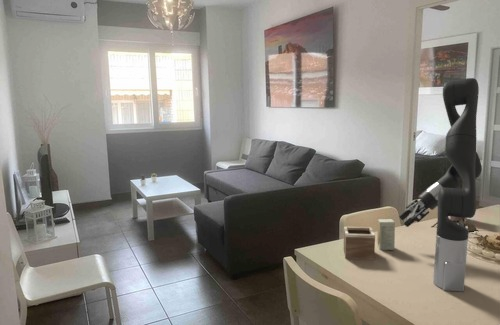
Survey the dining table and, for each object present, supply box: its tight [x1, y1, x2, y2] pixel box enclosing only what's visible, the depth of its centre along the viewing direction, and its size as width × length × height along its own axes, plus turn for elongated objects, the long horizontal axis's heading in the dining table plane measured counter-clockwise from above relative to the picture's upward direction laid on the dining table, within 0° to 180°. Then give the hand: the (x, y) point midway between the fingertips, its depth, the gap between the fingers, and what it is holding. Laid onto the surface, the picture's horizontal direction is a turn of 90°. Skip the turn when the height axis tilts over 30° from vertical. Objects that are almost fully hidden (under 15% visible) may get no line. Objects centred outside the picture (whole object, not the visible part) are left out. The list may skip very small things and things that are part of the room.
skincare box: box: [376, 218, 396, 251], centre depth 155 cm, size 6×4×12 cm
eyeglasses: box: [431, 219, 479, 234], centre depth 174 cm, size 15×15×5 cm
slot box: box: [343, 225, 376, 261], centre depth 149 cm, size 10×11×10 cm
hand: (402, 221), depth 153 cm, fingers open, 8 cm apart
